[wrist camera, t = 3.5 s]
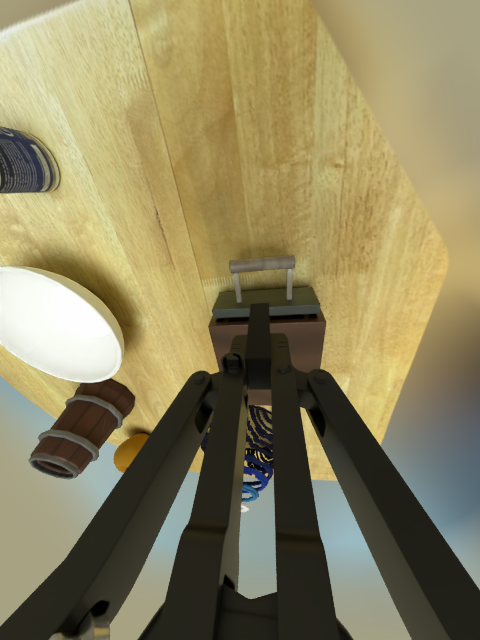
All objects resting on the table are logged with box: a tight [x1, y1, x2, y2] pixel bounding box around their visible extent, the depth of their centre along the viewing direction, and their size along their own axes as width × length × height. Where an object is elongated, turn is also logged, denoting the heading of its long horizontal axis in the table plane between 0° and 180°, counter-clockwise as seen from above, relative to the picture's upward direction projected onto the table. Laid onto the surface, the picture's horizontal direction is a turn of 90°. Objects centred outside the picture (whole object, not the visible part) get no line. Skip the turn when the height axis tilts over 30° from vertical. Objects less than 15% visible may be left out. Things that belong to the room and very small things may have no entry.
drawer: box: [212, 255, 320, 322], centre depth 28 cm, size 20×12×5 cm, turn 7°
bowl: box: [0, 266, 124, 383], centre depth 31 cm, size 20×20×7 cm
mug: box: [29, 379, 135, 479], centre depth 41 cm, size 16×12×15 cm
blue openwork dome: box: [201, 405, 274, 512], centre depth 43 cm, size 20×20×14 cm
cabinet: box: [208, 309, 326, 406], centre depth 31 cm, size 16×14×7 cm
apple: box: [114, 433, 149, 473], centre depth 52 cm, size 9×9×9 cm
